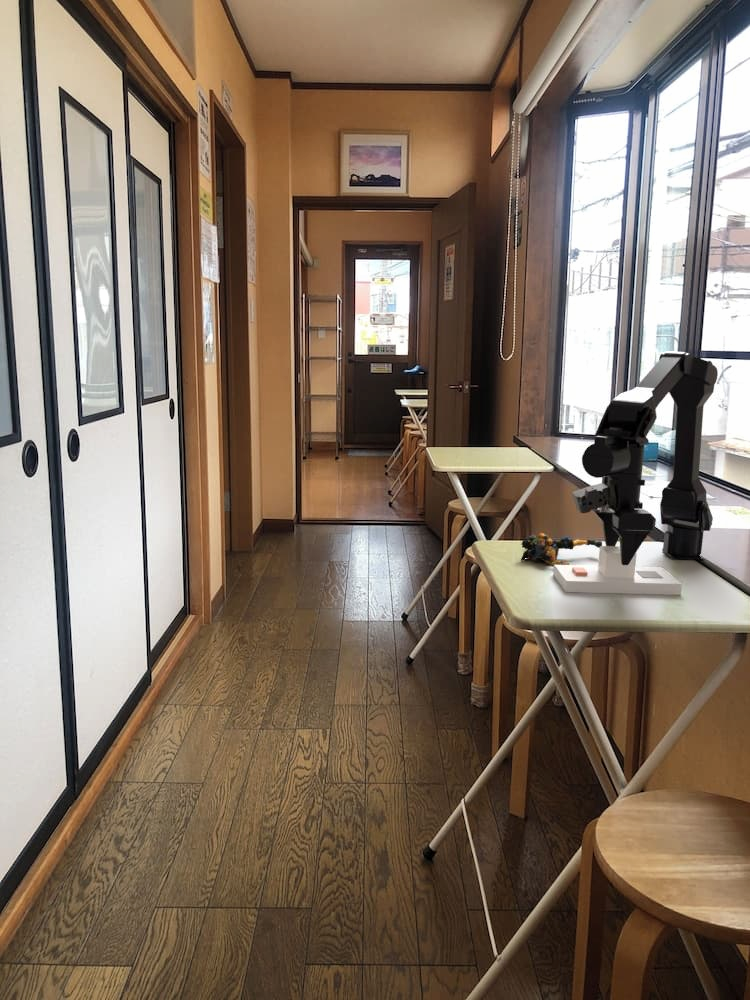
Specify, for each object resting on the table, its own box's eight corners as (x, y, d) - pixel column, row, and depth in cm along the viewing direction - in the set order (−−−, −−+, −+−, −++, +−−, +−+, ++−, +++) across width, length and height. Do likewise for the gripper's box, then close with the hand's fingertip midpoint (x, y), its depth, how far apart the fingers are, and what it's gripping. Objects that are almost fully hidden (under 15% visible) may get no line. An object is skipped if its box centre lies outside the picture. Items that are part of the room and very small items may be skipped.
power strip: (660, 577, 151) (662, 564, 151) (680, 594, 141) (682, 580, 141) (553, 575, 151) (554, 561, 150) (565, 592, 141) (566, 577, 141)
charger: (625, 581, 148) (628, 546, 147) (633, 589, 144) (636, 553, 143) (596, 580, 148) (599, 545, 147) (603, 588, 144) (606, 552, 143)
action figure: (602, 558, 165) (587, 575, 152) (530, 547, 171) (510, 564, 158) (605, 531, 164) (590, 546, 151) (532, 521, 170) (512, 535, 157)
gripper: (566, 461, 151) (560, 543, 154) (592, 479, 133) (585, 571, 136) (626, 463, 151) (618, 544, 154) (660, 481, 133) (651, 573, 136)
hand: (617, 557), depth 145 cm, fingers open, 9 cm apart
